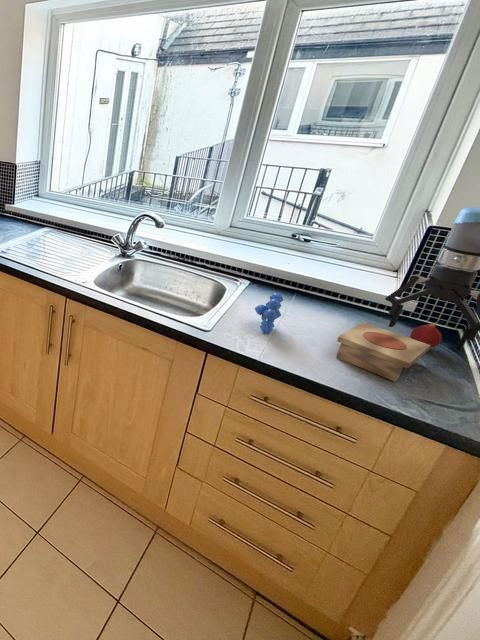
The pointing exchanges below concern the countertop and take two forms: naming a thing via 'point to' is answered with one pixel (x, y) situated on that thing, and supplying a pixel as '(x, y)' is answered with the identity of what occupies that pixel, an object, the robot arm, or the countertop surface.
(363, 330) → the wooden stand red oval
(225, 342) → the countertop surface
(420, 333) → the onion
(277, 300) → the grapes
